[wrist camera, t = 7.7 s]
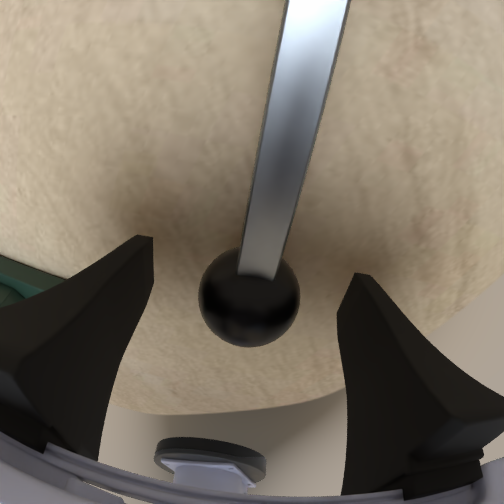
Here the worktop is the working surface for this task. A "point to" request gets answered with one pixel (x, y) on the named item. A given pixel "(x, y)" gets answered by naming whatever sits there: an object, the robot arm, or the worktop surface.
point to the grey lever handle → (276, 182)
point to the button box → (22, 281)
